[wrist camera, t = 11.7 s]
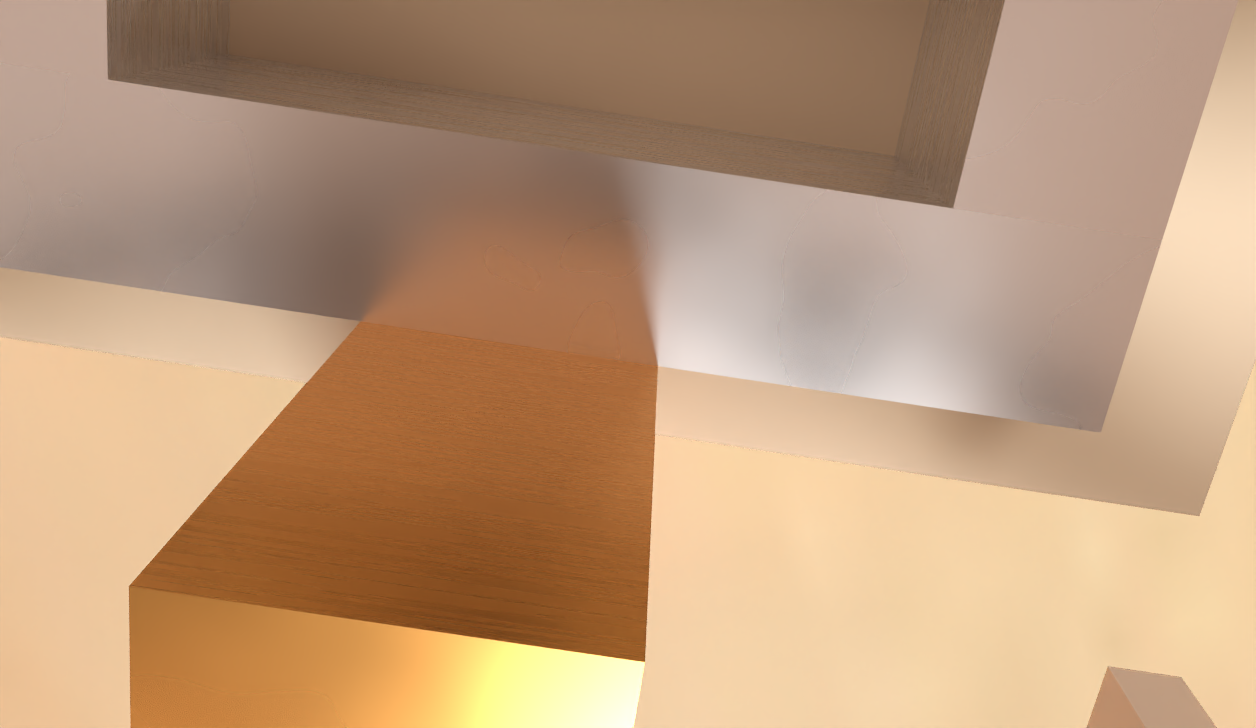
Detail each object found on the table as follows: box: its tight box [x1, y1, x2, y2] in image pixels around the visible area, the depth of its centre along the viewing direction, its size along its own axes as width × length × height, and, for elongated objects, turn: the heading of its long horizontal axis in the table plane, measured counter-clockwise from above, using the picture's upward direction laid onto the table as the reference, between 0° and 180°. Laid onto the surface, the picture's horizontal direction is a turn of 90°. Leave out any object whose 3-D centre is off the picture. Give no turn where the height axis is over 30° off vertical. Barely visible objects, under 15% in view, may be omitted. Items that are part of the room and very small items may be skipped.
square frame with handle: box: [0, 0, 1239, 728], centre depth 9 cm, size 18×12×8 cm, turn 172°
